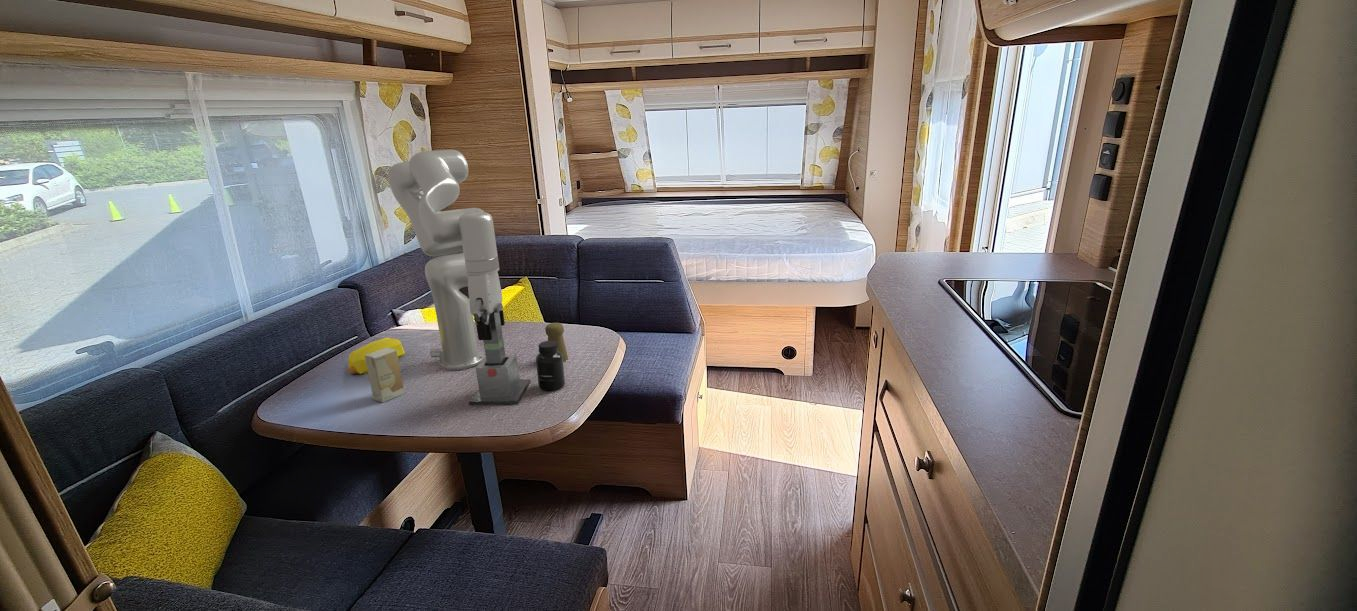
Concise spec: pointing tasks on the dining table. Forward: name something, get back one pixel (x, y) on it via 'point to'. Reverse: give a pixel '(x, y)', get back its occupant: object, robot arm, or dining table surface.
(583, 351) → the dining table surface
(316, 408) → the dining table surface
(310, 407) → the dining table surface
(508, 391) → the stand base
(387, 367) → the skincare box
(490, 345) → the column
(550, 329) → the olive knobbed figure
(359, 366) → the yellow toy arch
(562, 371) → the supplement bottle
